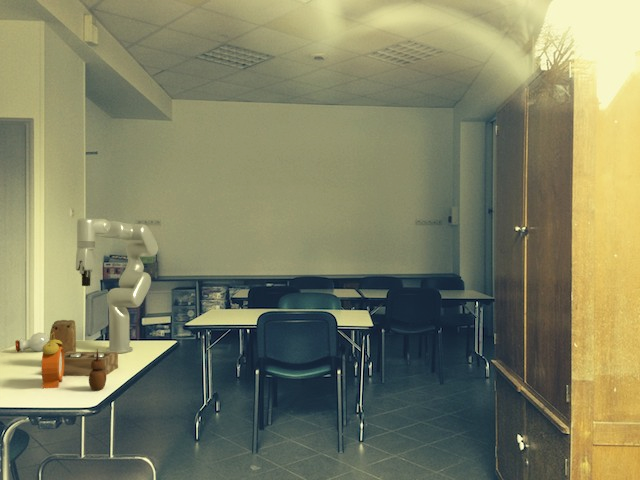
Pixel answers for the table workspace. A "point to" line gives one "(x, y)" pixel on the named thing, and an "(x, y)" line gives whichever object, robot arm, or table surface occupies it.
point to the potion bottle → (33, 342)
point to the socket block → (88, 363)
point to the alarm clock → (52, 364)
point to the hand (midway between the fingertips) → (86, 285)
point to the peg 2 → (99, 355)
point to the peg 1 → (75, 355)
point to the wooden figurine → (97, 374)
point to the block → (65, 334)
